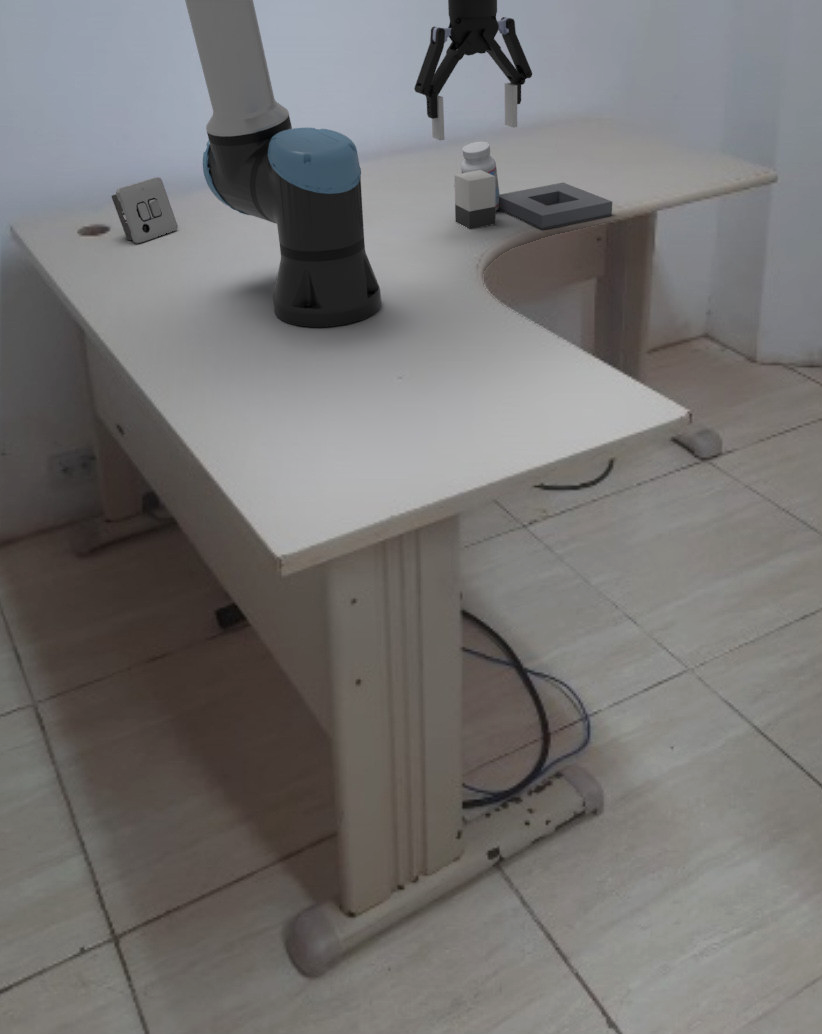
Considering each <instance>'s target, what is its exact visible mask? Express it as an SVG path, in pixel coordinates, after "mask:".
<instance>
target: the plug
mask: <svg viewBox="0 0 822 1034" xmlns="http://www.w3.org/2000/svg"><path fill="white" fill-rule="evenodd" d="M454 209H455V211H454V212H455V214H454V215H455V217H454V218H455V219H454V220H455V223H457V224H459V225H460V224H461V226H462V225H463V227H464V226H465V228H466V227H467V229H468V230H472V229H477V228H483V227H488V226H492V225H491V224H493V225H496V211H495V176H493V175H491V174H489V173H486V172H484V171H481V170H478V171H472V172H467V173H462V172H461V173H457V174H454ZM487 225H488V226H487ZM482 226H483V227H482Z"/></svg>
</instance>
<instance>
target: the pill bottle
mask: <svg viewBox="0 0 822 1034" xmlns="http://www.w3.org/2000/svg"><path fill="white" fill-rule="evenodd" d="M490 147H491V146H490V144H489V142H487V141H473V142H471V143H468V144H466V145H464V146H463V147H462V156H463V158H464V159H463V161H462V163H461V165H460V167H461V169H460V170H461V173H467V172H472V171H478V170H481V171H484V172H486V173H489V174H491V175H493V176H495V212H497V211H499V210H498V209H499V196H500V188H499V180H498V170H497V169H498V168H497V162H496V159H495V158H494V157H493V156H492V155H491V148H490Z"/></svg>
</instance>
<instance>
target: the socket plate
mask: <svg viewBox="0 0 822 1034" xmlns="http://www.w3.org/2000/svg"><path fill="white" fill-rule="evenodd" d="M499 194H500V193H499ZM500 210H501V211H500ZM498 211H500V212H502V211H503V212H502V213H504V212H505V213H504V214H506V213H507V214H506V215H508V214H509V216H510V215H511V217H513V216H514V217H513V218H515V217H516V218H515V219H517V218H518V220H519V219H520V220H519V221H521V220H522V221H521V222H523V221H524V223H526V224H528V225H530V226H532V227H535V228H536V229H539V230H540V231H544V230H548V229H554V228H559V227H563V226H568V225H573V224H578V223H582V222H586V221H587V222H588V221H592V220H597V219H603V218H608V217H611V216H613V214H612V213H613V201H612V200H609V199H607V198H604V197H602V196H599V195H596V194H594V193H591V192H588V191H587V190H583V189H581V188H579V187H575V186H573V185H570V184H568V183H566V182H560V183H559V182H558V183H553V184H549V185H542V186H538V187H532V188H526V189H522V190H515V191H511V192H506V193H501V194H500V196H499V210H498Z"/></svg>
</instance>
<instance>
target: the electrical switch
mask: <svg viewBox="0 0 822 1034" xmlns="http://www.w3.org/2000/svg"><path fill="white" fill-rule="evenodd" d="M111 199H112V202H113V205H114V208H115V210H116V213H117V215H118V219H119V222H120V223H121V226H122V227H121V228H122V230H123V232H124V235H125V237H126V241H131V240H132V242H133V243H135V244H136V243H138V244H141V243H144V242H147V241H150V240H153V239H156V238H158V236H159V237H161V235H162V236H164V235H167V234H169V233H170V234H171V233H173V232H175V231H177V230H178V228H179V227H178V226H179V225H178V223H177V220H176V218H175V214H174V211H173V208H172V205H171V203H170V199H169V197H168V194H167V191H166V188H165V185H164V182H163V179H162V178H161V177H159V176H157V177H156V176H155V177H152V178H149V179H146V180H142V181H139V182H136V183H132V184H129V185H125V186H122V187H119V188H116V190H115V194H113V195H111ZM172 231H173V232H172ZM166 233H167V234H166Z"/></svg>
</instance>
